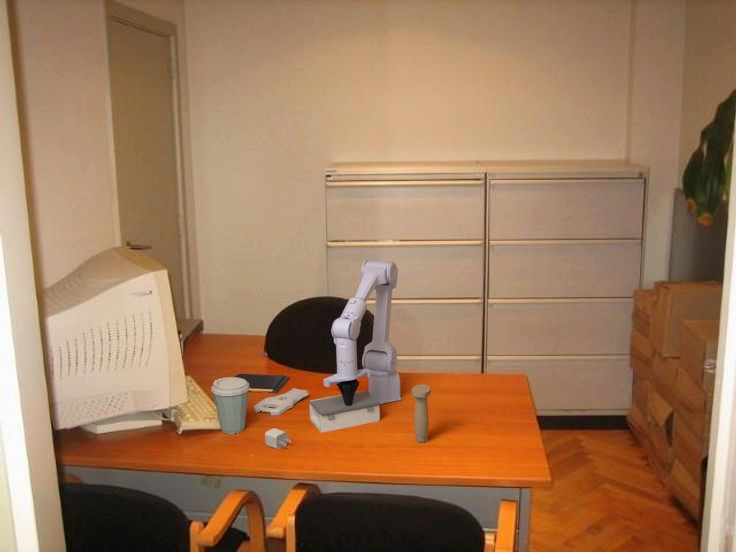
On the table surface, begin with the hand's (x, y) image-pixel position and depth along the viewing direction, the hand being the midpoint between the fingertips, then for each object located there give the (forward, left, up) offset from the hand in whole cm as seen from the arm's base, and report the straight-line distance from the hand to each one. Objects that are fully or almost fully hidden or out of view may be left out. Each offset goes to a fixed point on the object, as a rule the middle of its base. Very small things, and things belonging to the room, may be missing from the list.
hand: (348, 404), depth 205 cm
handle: (-14, +18, -6) cm, 24 cm away
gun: (+13, -23, -7) cm, 28 cm away
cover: (0, -3, -1) cm, 3 cm away
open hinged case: (0, -4, -6) cm, 7 cm away
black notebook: (+16, -45, -7) cm, 48 cm away
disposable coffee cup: (+31, -12, -6) cm, 34 cm away
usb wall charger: (+22, +4, -7) cm, 23 cm away
